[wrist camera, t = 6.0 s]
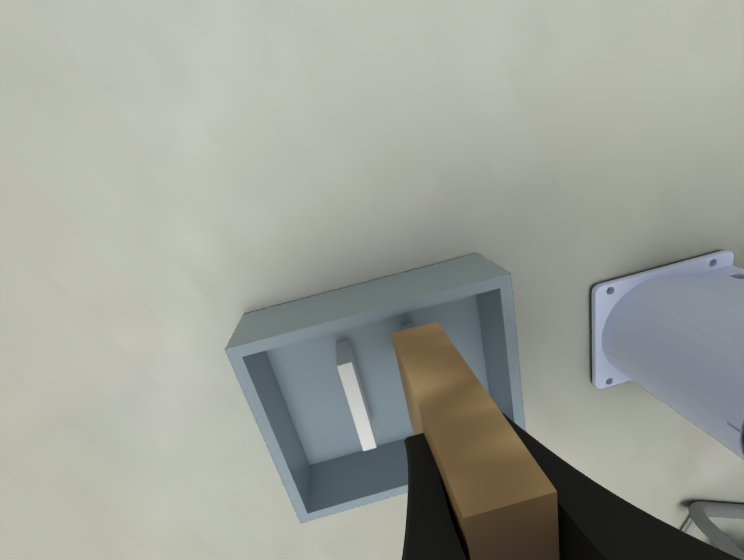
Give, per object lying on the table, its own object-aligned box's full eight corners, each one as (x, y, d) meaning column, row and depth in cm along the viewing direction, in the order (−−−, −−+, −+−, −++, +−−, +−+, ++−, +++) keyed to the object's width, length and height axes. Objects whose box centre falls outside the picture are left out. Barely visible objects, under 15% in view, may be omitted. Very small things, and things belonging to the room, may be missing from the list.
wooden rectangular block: (437, 321, 15) (557, 491, 7) (452, 415, 16) (561, 631, 9) (391, 333, 15) (463, 518, 7) (411, 425, 16) (486, 654, 9)
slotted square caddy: (476, 252, 21) (510, 273, 17) (497, 412, 25) (527, 457, 21) (243, 313, 20) (224, 349, 16) (304, 467, 24) (300, 523, 20)
